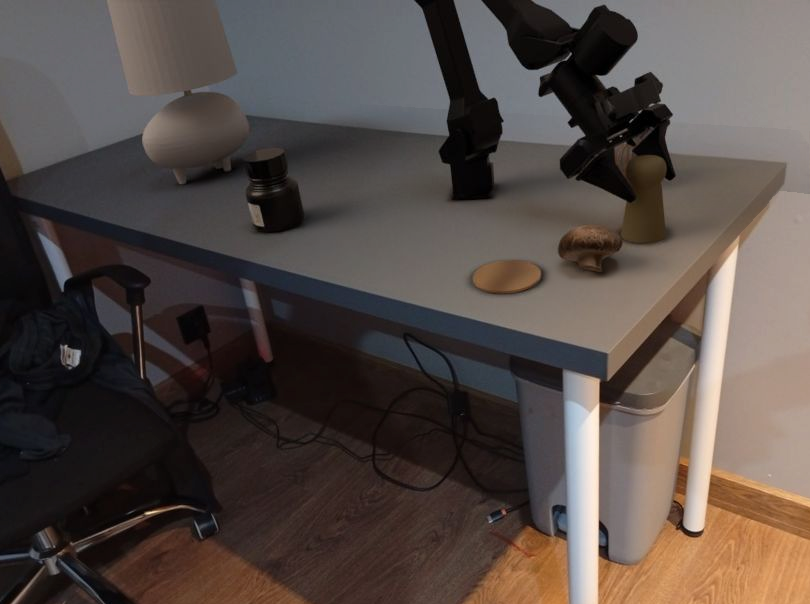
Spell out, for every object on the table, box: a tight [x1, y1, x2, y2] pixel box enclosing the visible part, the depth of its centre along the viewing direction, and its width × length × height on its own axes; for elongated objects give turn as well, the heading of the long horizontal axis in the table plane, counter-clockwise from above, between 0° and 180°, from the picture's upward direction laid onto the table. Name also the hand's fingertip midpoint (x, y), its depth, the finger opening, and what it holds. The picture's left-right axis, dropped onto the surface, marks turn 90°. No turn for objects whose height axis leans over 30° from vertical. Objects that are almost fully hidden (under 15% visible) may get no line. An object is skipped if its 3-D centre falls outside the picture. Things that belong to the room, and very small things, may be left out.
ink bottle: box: [242, 147, 305, 233], centre depth 123 cm, size 10×9×12 cm
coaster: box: [472, 259, 542, 295], centre depth 97 cm, size 9×9×1 cm
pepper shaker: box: [620, 155, 667, 244], centre depth 100 cm, size 6×6×11 cm
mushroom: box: [557, 224, 623, 273], centre depth 95 cm, size 8×8×6 cm
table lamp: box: [106, 0, 250, 185], centre depth 146 cm, size 23×22×40 cm
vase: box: [614, 142, 637, 185], centre depth 117 cm, size 7×7×9 cm
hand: (653, 189), depth 98 cm, fingers open, 9 cm apart
